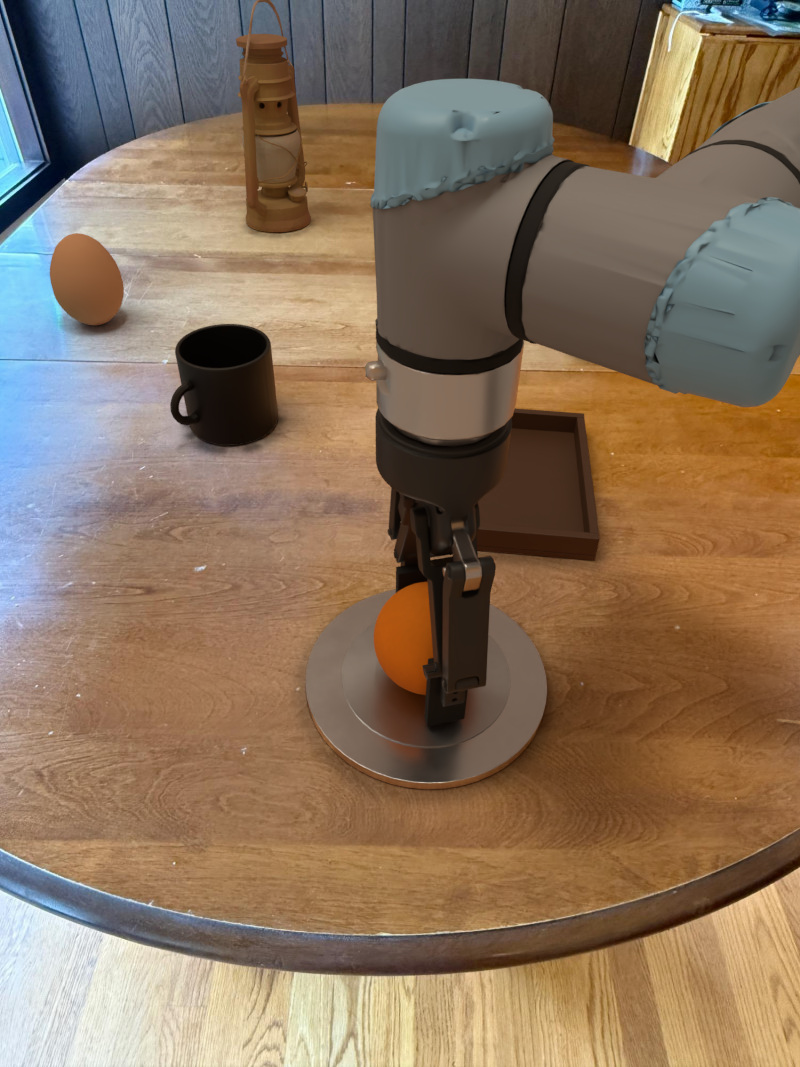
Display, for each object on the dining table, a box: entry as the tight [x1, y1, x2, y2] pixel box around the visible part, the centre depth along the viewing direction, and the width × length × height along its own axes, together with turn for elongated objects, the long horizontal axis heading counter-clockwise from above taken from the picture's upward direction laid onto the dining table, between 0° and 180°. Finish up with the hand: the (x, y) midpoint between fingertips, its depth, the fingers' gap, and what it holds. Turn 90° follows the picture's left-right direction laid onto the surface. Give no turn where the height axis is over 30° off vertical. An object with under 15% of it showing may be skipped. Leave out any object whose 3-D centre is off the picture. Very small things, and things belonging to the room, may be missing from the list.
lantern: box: [235, 0, 312, 233], centre depth 116 cm, size 15×10×30 cm
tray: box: [476, 407, 601, 561], centre depth 75 cm, size 20×16×3 cm
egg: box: [49, 232, 125, 326], centre depth 95 cm, size 8×8×11 cm
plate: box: [304, 588, 548, 790], centre depth 58 cm, size 18×18×1 cm
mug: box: [169, 323, 279, 446], centre depth 79 cm, size 9×12×9 cm
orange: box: [374, 582, 433, 695], centre depth 55 cm, size 8×8×8 cm
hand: (427, 669), depth 57 cm, fingers closed on orange, 8 cm apart
